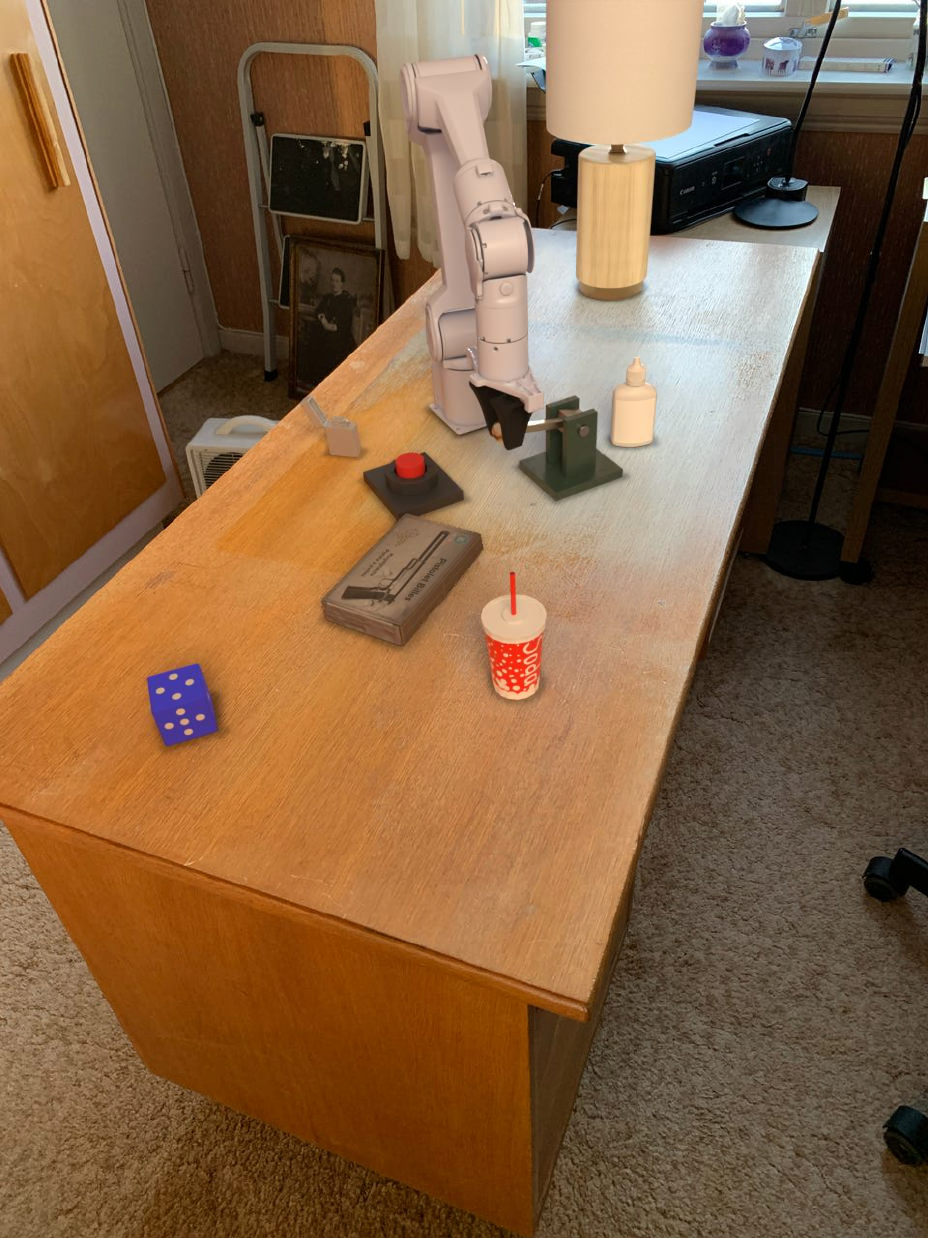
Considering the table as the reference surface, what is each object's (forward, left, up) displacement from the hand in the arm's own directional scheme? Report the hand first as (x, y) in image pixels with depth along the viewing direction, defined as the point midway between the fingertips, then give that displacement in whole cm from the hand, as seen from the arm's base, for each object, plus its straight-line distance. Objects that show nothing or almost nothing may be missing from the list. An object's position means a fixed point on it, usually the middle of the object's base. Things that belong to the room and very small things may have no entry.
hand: (505, 439), depth 110 cm
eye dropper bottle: (-2, +20, -8) cm, 22 cm away
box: (+10, -19, -8) cm, 23 cm away
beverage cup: (+29, -16, -8) cm, 34 cm away
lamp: (-46, +47, -8) cm, 66 cm away
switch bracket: (0, +9, -8) cm, 12 cm away
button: (-8, -10, -5) cm, 13 cm away
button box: (-7, -10, -8) cm, 15 cm away
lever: (0, +4, -1) cm, 4 cm away
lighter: (-22, -15, -8) cm, 28 cm away
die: (+17, -46, -8) cm, 49 cm away
